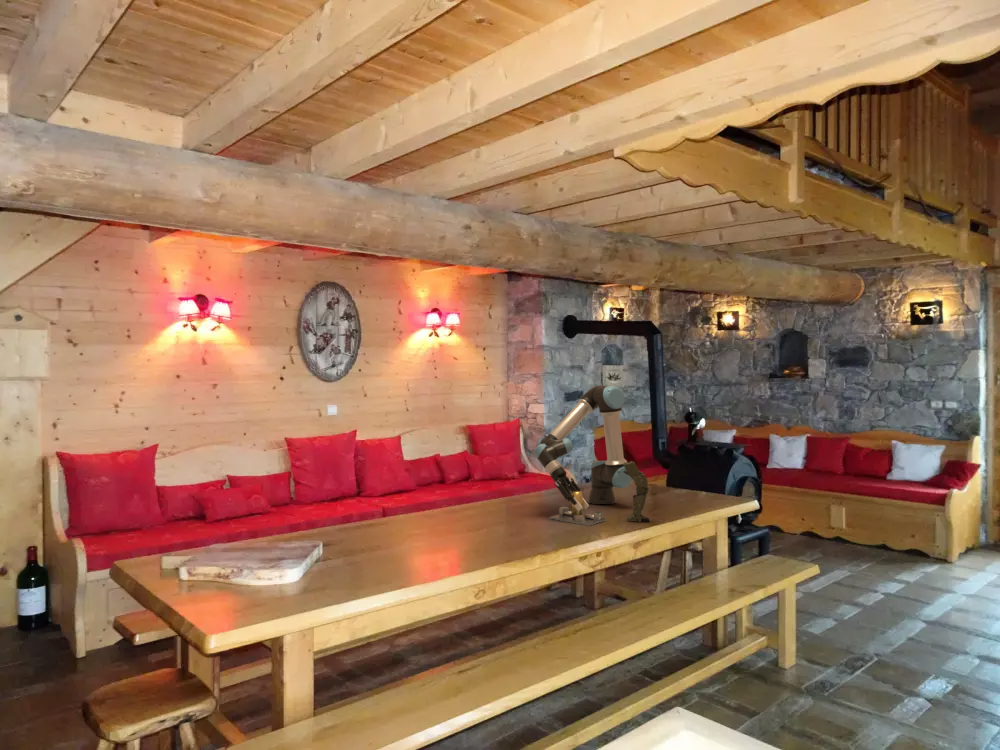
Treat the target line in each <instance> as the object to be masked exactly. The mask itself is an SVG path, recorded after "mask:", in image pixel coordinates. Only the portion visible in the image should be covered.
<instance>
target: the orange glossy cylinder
mask: <svg viewBox="0 0 1000 750" xmlns="http://www.w3.org/2000/svg"><path fill="white" fill-rule="evenodd" d="M582 492H583V491H582V490H581V491H572V492H571V494H572V495H573V497H575V498H576V499H577V501H578V502H579V503H580V505H581V506H582V497H583V494H582ZM582 507H583V506H582ZM571 512H572V515H583V508H582V509H581V510H580V511H578V510H577V509H576V507H575V506H574V505H573V503H572V502H571Z"/></svg>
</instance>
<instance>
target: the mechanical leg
mask: <svg viewBox="0 0 1000 750" xmlns="http://www.w3.org/2000/svg"><path fill="white" fill-rule="evenodd" d="M623 465H624V467H625V469H626V471H627V472H626V471H624V473H625V474H627V475H629V476H630V477H631V478H632V481H633V483H634V484H635V486H636V489H635V492H636V493H635V494H633V496H632V505H633V509H632V512H631V514H629V515H626V521H627V520H628V521H638V522H637V523H650V522H651V521H650V518H649V517H647V516H644V515H643V514H642V511H643V509H644V506H645V504H646V499H647V497H648V496H647V495H648V494H649V490H650V487H648V483H649V480H648V478H647V477H646V475H645V473H643V472H642V471H640V469H639V468H638V466H637V464H636V463H635V461H632V460H631V461H629V462H627V463H625V462H624V464H623ZM628 521H627V522H628Z"/></svg>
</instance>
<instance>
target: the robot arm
mask: <svg viewBox="0 0 1000 750" xmlns="http://www.w3.org/2000/svg"><path fill="white" fill-rule="evenodd" d="M625 400H626V397H625V393H624V392H623V390H622V389H621V388H619V387H618V386H616V385H615V386H614V385H596V386H593V387H591V388H590V389H588V390H587V391H586V392H585V393H583V395H582V396H581V397H580V398H579V399H578V403H577V404H576V405H575V406H574V407H573V408H572V410H570V412H569V413H568V414H567V415H566V416H565V417H564V418H562V420H561V421H560V422H559V423H558V424H557V425H556V426H555V428H554V429H552V431H551V432H550V433H549V434H548V435H547V436H546V437H543V438H540V439H539V440H538V441H537V446H536V447H535V448H534V450H533V454H534V455H535V458H537V460H538V461H539V462H540V464H541V465H542V467H543V468H544V469H545V470H546V472H547V474H548V475H549V476H550V478H551V479H552V481H553V482H555V483H554V486H555V487H556V488H557V489H558V490H559V492H560V493H561V494H562V496H563V497H564V499H565V500H567V502H571V504H572V503H573V505H574V506H575V507H576V509H577V510H578V511H580V510H581V509H582V510H583V509H584V510H587V509H588V508H589V507H590V505H589V504H590V503H592V504H591V505H595V504H612V505H615V504H614V503H616V504H617V499H616V496H615V492H614V488H616V489H624V488H627V487H629V485H630V484H631V483H632V481H633V480H632V478H631V477H630V476H629V475H627V474H625V473H624V471H626V469H625V467H624V465H623V464H624V462H625V463H628V461H627V460H626V459H625V457H624V448H623V437H622V429H621V420H620V419H621V417H620V413H621V412H622V410H623V409H622V407H623V406H624V404H625ZM597 408H598V409H599V413H600V414H601V416H602V420H603V421H602V423H603V430H604V439H605V447H606V448H605V449H606V450H605V451H606V460H597V461H593V462H591V467H590V471H591V472H590V473H591V474H590V476H591V477H590V478H591V479H590V480H591V483H590V485H591V486H590V492H589V495H588V499H587V501H586V500H585V498H584V497H583V496H582V506H581V505H580V503H579V502H578V501H577V499H576V498H575V497H573V495H572V491H582V490H581V488H580V487H579V485H578V484H577V483H576V481H575V480H574V478H573V477H571V478H569V477H568V476H567V471H566V470H565V469H564V467H563V466H562V464H561V463H560V462H559V461H558V459H559V458H562V457H563V456H565V455H568V454H569V453H571V452H572V451H573V449H574V446H573V443H572V441H571V440H570V439H569V438H568V437H567V436H568V435H570V433H571V432H572V431H573V430H574V429H576V427H577V426H578V425H579V423H580V422H582V421H583V419H584V418H585V417H586V416H588V414H589V413H593V411H595V410H596V409H597ZM626 472H627V471H626ZM582 495H584V492H583V491H582ZM588 502H589V503H588Z"/></svg>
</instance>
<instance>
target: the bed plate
mask: <svg viewBox="0 0 1000 750" xmlns="http://www.w3.org/2000/svg"><path fill="white" fill-rule="evenodd" d="M558 513H559V514H555V515H551V516H549V520H551V519H555V520H554V521H556V520H560V521H559V522H562V521H566V522H565V523H568V522H571V523H570V524H574V523H576V524H575V525H580V524H581V526H586V525H589V526H588V527H591V526H590V525H592V526H594V525H593V524H595V525H597V524H596V523H598V524H600V523H599V522H601V523H603V522H602V521H605V522H606V521H607V520H606V518H603V517H602V511H594V512H593V513H592V514H588V513H585V514H584V515H583V514H582V515H572V511H570V507H569V506H561V507H559V512H558Z"/></svg>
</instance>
